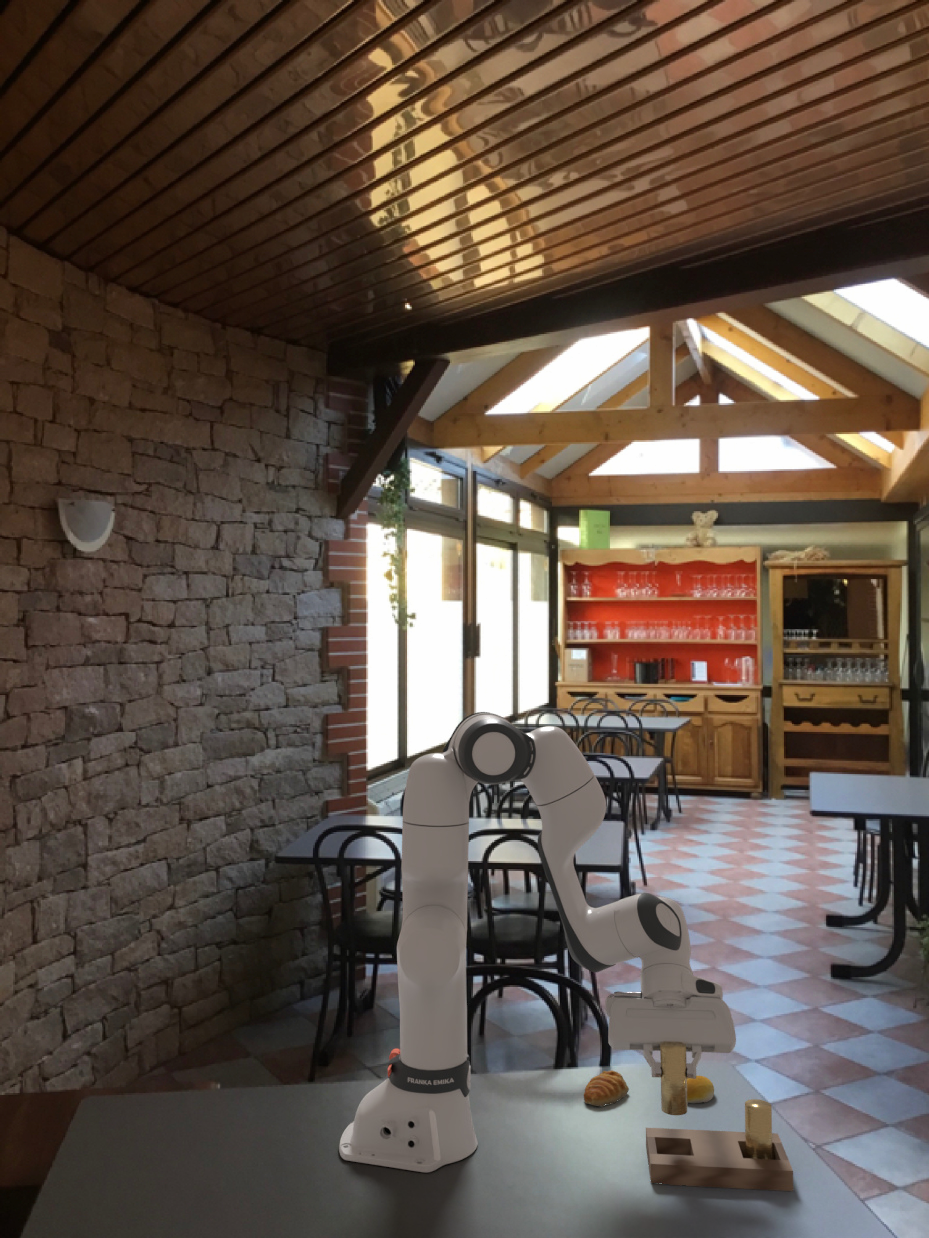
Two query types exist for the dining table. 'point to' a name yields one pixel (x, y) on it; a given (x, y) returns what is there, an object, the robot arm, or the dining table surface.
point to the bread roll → (699, 1090)
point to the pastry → (605, 1089)
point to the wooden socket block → (714, 1160)
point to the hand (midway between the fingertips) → (674, 1076)
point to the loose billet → (673, 1078)
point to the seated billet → (758, 1129)
